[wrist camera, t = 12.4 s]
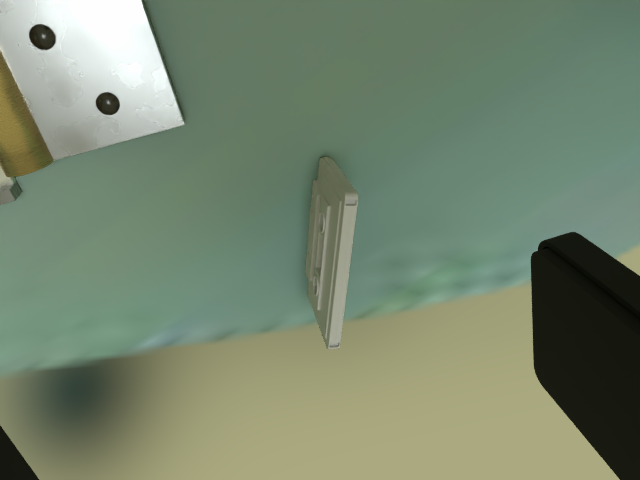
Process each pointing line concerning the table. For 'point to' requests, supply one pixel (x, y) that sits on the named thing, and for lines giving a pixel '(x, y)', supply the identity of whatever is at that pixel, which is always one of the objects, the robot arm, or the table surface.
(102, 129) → the hinge base
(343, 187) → the cassette
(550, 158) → the table surface
